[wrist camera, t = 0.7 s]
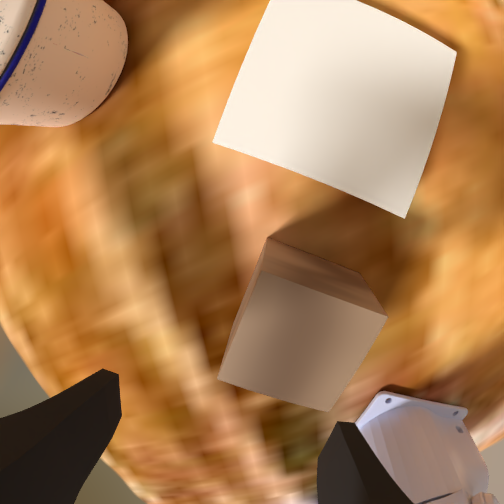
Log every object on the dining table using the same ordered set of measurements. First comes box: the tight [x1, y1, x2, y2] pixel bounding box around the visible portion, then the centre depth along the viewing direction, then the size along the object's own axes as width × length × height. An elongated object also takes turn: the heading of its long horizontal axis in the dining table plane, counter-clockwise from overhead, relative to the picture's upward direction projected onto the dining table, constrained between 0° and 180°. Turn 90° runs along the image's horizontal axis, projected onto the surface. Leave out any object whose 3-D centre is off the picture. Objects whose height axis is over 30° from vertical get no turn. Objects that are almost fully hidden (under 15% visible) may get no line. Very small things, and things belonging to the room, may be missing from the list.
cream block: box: [212, 0, 457, 219], centre depth 14 cm, size 9×9×4 cm
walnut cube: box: [217, 237, 388, 412], centre depth 15 cm, size 6×6×6 cm
